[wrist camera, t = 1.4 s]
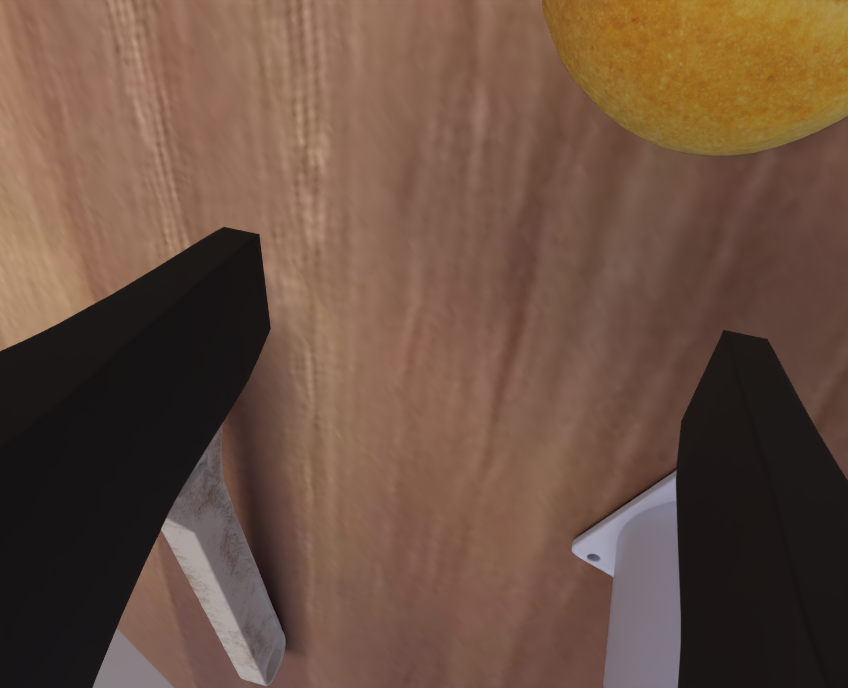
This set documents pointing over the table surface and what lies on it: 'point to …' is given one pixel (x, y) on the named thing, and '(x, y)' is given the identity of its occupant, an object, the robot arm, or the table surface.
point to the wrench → (224, 570)
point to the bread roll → (709, 68)
